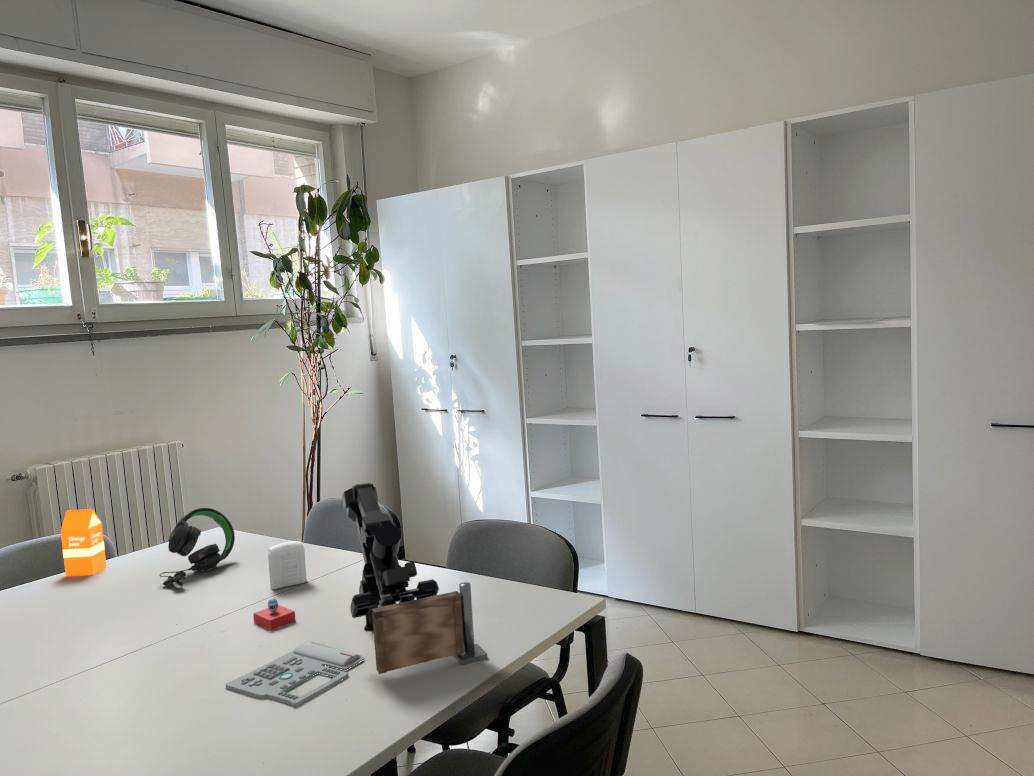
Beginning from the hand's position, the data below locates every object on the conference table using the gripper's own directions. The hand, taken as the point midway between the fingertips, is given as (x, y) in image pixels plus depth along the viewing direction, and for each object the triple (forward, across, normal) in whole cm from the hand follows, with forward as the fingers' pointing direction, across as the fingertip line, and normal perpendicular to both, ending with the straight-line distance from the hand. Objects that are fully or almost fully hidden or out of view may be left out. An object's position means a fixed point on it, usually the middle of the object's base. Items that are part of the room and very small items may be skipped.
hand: (404, 634), depth 162 cm
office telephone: (0, -20, +11) cm, 23 cm away
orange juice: (-80, -69, +88) cm, 138 cm away
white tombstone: (-43, -15, +53) cm, 70 cm away
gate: (+6, +2, +1) cm, 7 cm away
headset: (-63, -36, +72) cm, 102 cm away
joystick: (-24, -22, +34) cm, 47 cm away
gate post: (+7, +13, +2) cm, 15 cm away
